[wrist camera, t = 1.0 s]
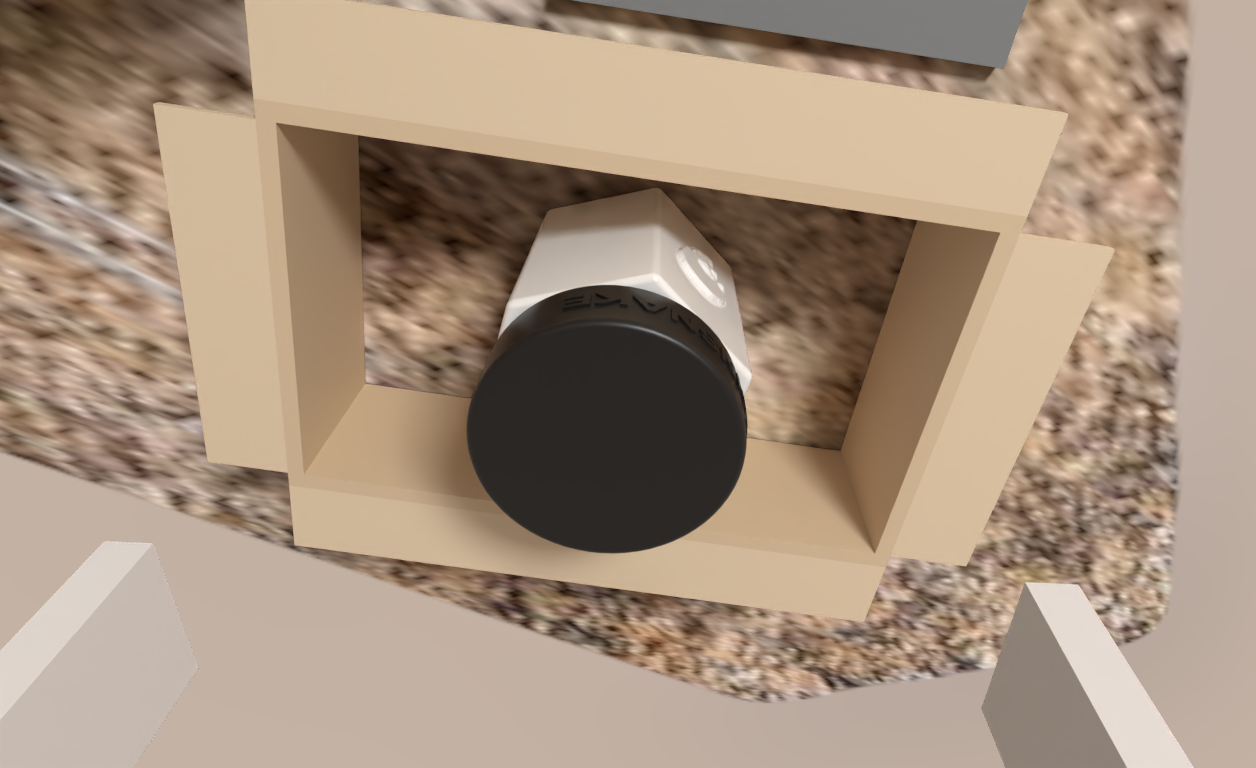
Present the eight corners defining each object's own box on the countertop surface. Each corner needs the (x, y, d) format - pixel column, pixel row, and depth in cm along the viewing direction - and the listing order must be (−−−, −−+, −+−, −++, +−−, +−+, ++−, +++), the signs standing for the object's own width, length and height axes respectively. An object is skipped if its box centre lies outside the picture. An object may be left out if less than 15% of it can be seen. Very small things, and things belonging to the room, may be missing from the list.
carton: (291, 437, 37) (218, 534, 31) (250, -40, 28) (132, -33, 21) (892, 521, 38) (935, 631, 32) (1063, 89, 28) (1171, 130, 22)
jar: (769, 301, 33) (816, 469, 23) (626, 410, 36) (609, 603, 26) (624, 138, 30) (602, 245, 20) (480, 271, 33) (394, 427, 22)
